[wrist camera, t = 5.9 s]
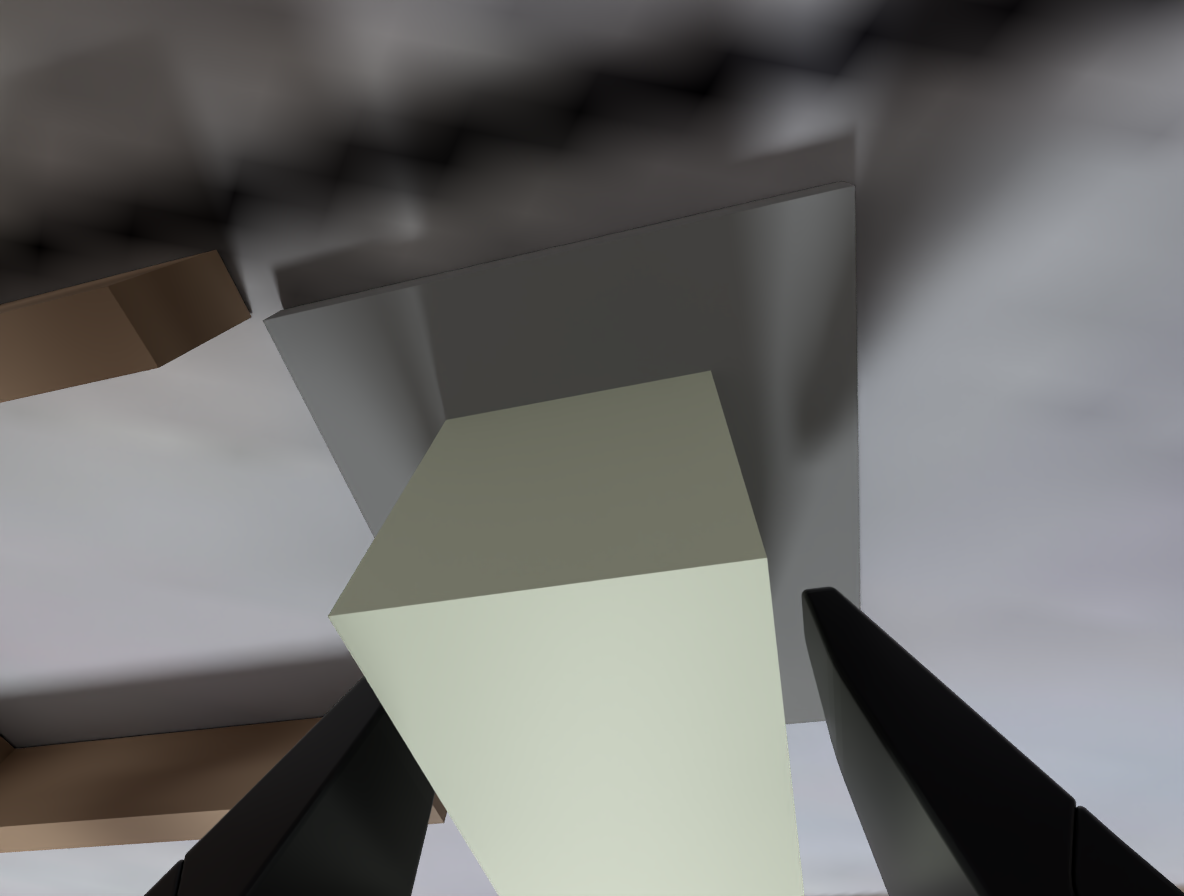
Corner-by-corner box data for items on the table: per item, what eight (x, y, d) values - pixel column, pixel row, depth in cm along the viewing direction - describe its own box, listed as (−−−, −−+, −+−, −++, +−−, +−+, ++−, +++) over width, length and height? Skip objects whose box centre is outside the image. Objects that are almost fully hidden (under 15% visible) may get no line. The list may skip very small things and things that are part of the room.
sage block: (710, 370, 8) (766, 557, 5) (751, 660, 11) (806, 908, 8) (445, 420, 9) (328, 616, 5) (548, 681, 12) (514, 920, 8)
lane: (215, 249, 8) (107, 286, 7) (467, 732, 14) (443, 822, 12) (-419, 410, 10) (-627, 470, 9) (10, 774, 16) (-67, 857, 14)
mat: (841, 181, 7) (855, 185, 7) (853, 696, 12) (861, 717, 12) (281, 310, 9) (262, 320, 8) (488, 729, 13) (483, 750, 13)
